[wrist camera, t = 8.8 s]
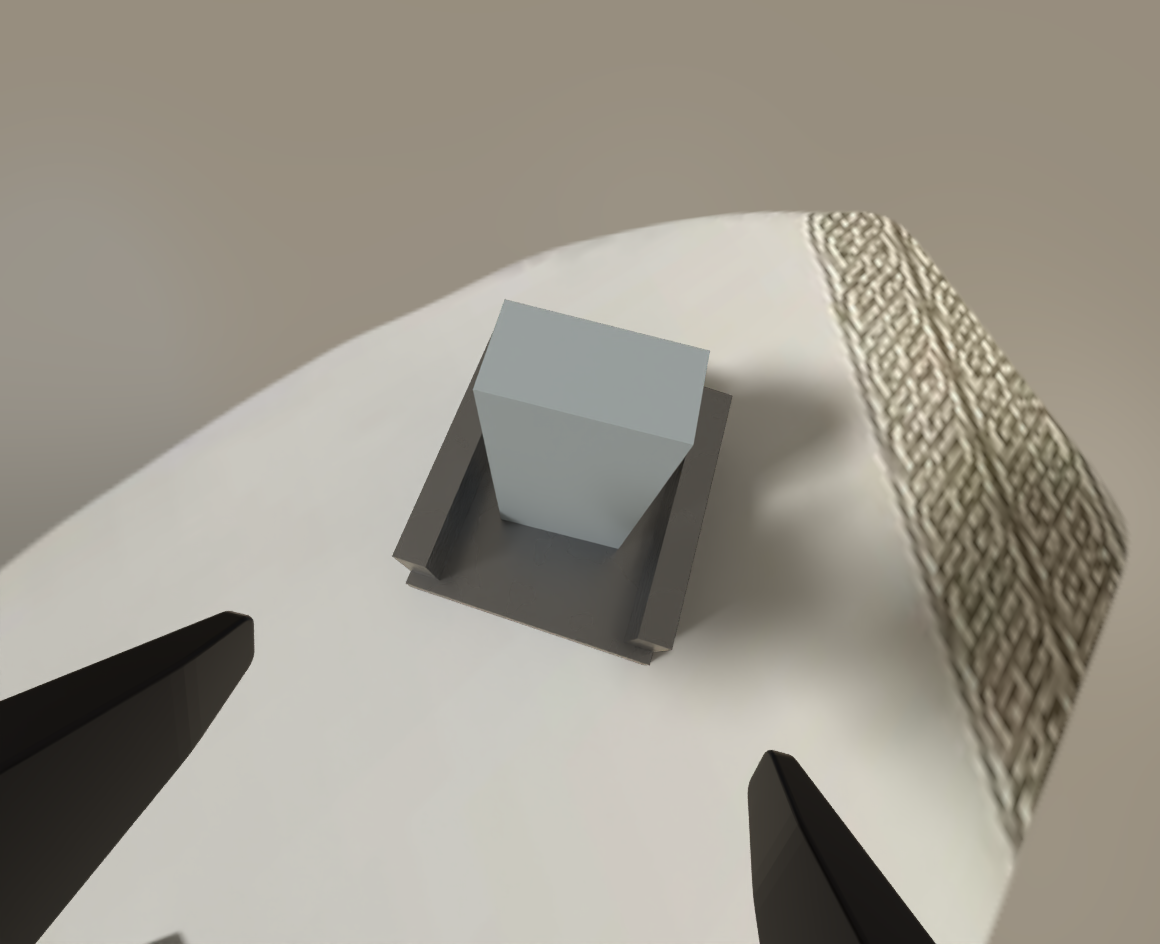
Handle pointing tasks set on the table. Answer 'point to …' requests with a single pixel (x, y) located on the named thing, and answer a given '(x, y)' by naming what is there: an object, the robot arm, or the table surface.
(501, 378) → the block
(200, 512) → the table surface
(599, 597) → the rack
